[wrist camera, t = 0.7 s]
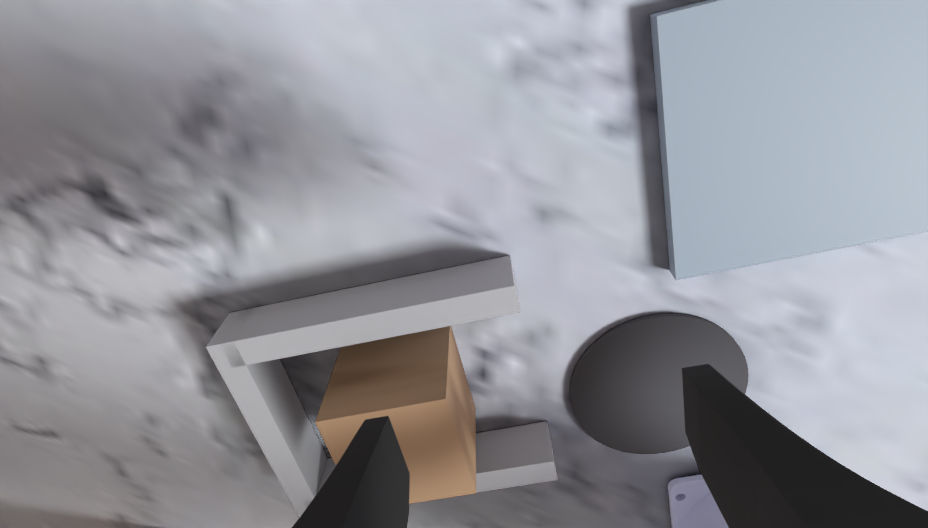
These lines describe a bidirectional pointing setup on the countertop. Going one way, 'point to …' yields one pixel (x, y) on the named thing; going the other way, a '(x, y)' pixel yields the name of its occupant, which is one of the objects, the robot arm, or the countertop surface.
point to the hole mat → (648, 380)
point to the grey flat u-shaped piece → (357, 321)
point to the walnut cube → (408, 408)
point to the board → (790, 127)
